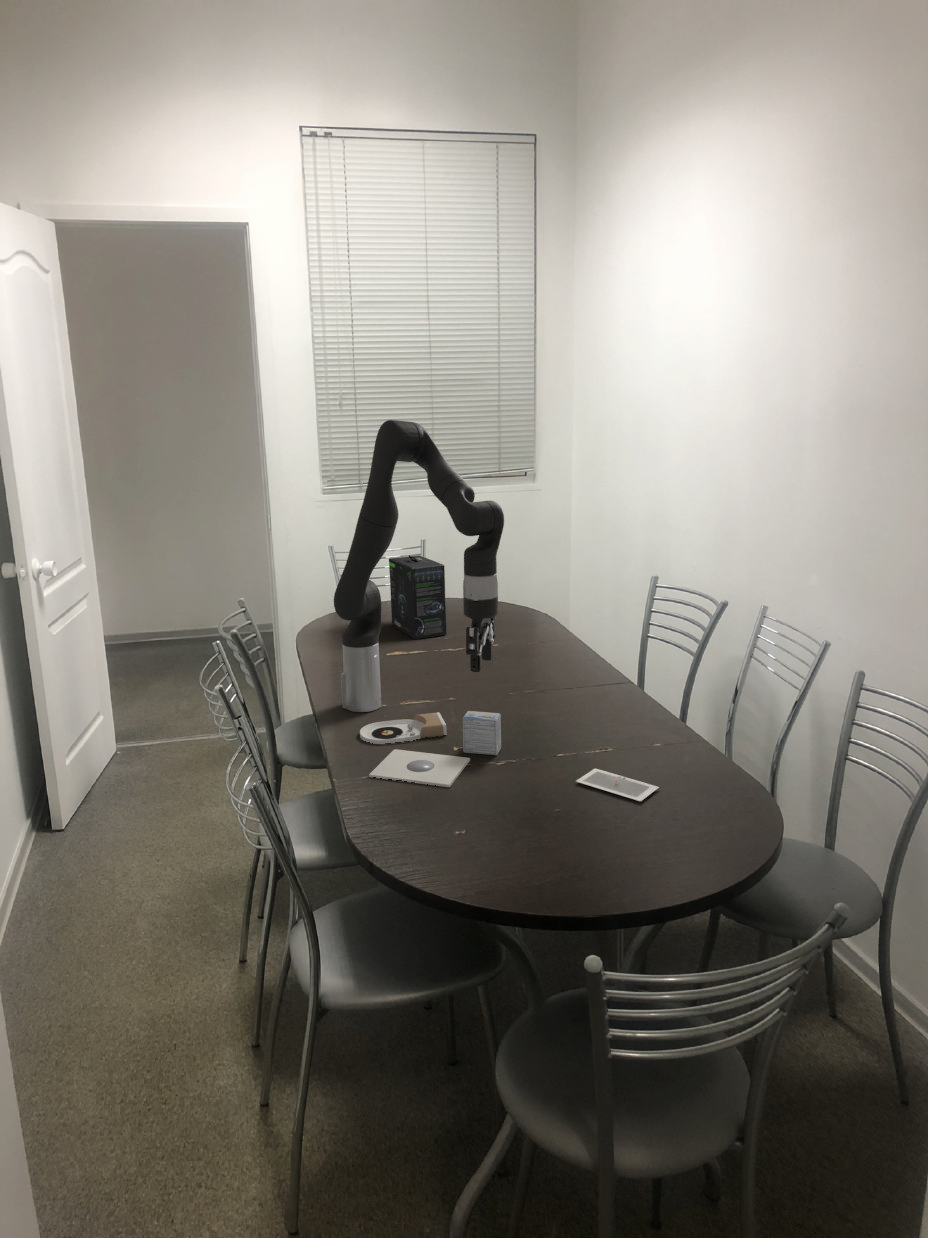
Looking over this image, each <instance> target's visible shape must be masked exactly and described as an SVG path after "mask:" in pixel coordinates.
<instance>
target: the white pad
mask: <svg viewBox="0 0 928 1238" xmlns="http://www.w3.org/2000/svg"><path fill="white" fill-rule="evenodd" d="M470 762H471V758H470V757H463V756H455V755H447V754H438V753H429V752H422V751H413V750H404V749H397V748H396V749H395V748H394V749H393V750H392V751H390V753H389V754H388V755H387V756H386V757H384V759H383V760H382V761H381V762H380V763H379V764H378V765H377V766H376V767H375V768H374V769H373V770H372V771H371V772H370V773H369V774H368V775H369V776H368V777H369V778H373V777H376V778H375V779H380V778H382V780H388V779H392V781H396V780H402V781H401V782H404V781H407V782H406V783H411V782H415V783H414V784H419V785H420V784H422V785H427V784H428V786H435V785H436V787H443V788H444V787H445V788H450V787H451V786H452V785H453V784H454V782H455V781H456V780H457V779H458V777H460V774H461V773H462V772H463V771H464V769H465V768H466V767H467V766H468V764H469V763H470Z"/></svg>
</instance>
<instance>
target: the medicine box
mask: <svg viewBox="0 0 928 1238" xmlns="http://www.w3.org/2000/svg"><path fill="white" fill-rule="evenodd" d="M501 715H502V714H501V713H499V712H486V711H477V710H474V711H473V710H468V711H466V713H465V714H464V716H463V717H462V739H463V741H462V742H463V743H462V744H463V745H462V749H463V751H462V752H463V753H466V754H479V755H488V756H489V755H491V756H498V755H499V752H500V751H501V749H502V724H501V723H502V721H501V720H502V717H501Z"/></svg>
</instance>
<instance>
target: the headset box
mask: <svg viewBox="0 0 928 1238" xmlns="http://www.w3.org/2000/svg"><path fill="white" fill-rule="evenodd" d="M388 565H389V566H388V568H389V569H388V570H389V585H390V605H391V606H390V609H391V611H390V613H391V625H392V626H393V627H395V628H396V629H398V630H399V631H400V632H402V633H404V634H406V635H407V636H409V637H410V638H412V639H415V640H418V639H426V638H432V637H438V636H440V637H441V636H445V635H448V634H447V633H448V631H447V614H446V613H447V608H446V605H447V604H446V577H445V575H446V574H445V564H443V563H440V562H438V561H435V560H432V559H429V558H427V557H424V556H422V555H418V554H417V555H408V556H402V557H400V556H398V557H389V558H388Z"/></svg>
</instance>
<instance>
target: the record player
mask: <svg viewBox="0 0 928 1238" xmlns="http://www.w3.org/2000/svg"><path fill="white" fill-rule="evenodd" d="M443 718H444V717H442V715H441V713H440V712H429V713H421V714H414V716H413V719H407V718H406V719H393V720H391V719H390V720H384V721H376V722H372V723H369V724H366V725H364V726H363V727H361V728H360V730H359V737H360V739H361V740H362V741H364V742H365V741H366V743H368V742H370V743H369V744H372V743H373V744H374V745H386V744H385V743H391V744H396V743H395V742H401V743H405V742H404V741H410V742H414V741H413V740H415V741H417V740H416V739H418V740H420V739H425V737H428V738H437V737H436V736H438V737H444V736H443V735H447V736H448V732H447V724H446V722H445V720H444V719H443Z"/></svg>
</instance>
